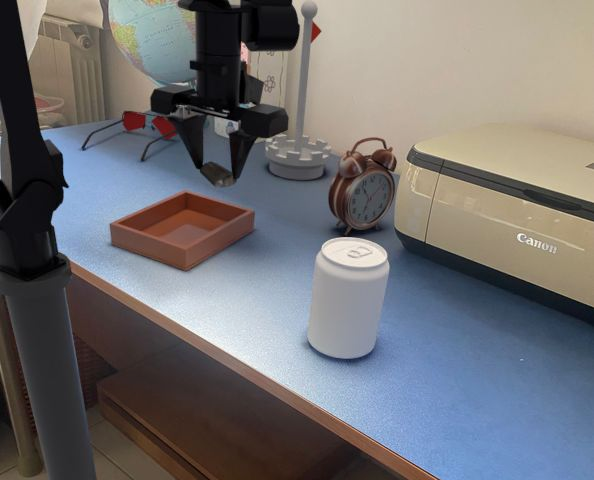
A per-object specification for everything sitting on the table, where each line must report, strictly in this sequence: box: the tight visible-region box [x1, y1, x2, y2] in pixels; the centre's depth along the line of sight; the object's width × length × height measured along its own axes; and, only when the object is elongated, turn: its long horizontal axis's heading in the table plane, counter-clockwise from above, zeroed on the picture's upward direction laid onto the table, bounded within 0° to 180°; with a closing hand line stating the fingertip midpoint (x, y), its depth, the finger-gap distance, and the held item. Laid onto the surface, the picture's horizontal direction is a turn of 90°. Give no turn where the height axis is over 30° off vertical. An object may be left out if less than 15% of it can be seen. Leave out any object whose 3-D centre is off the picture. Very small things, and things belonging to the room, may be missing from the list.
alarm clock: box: [327, 136, 398, 236], centre depth 93 cm, size 11×5×15 cm, turn 123°
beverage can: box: [306, 236, 390, 360], centre depth 66 cm, size 8×8×12 cm
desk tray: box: [108, 189, 256, 272], centre depth 89 cm, size 18×14×3 cm
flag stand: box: [264, 0, 332, 181], centre depth 111 cm, size 13×13×30 cm
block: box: [199, 161, 238, 188], centre depth 83 cm, size 4×6×2 cm, turn 39°
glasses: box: [81, 110, 179, 162], centre depth 122 cm, size 14×16×5 cm
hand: (217, 173), depth 83 cm, fingers closed on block, 6 cm apart
